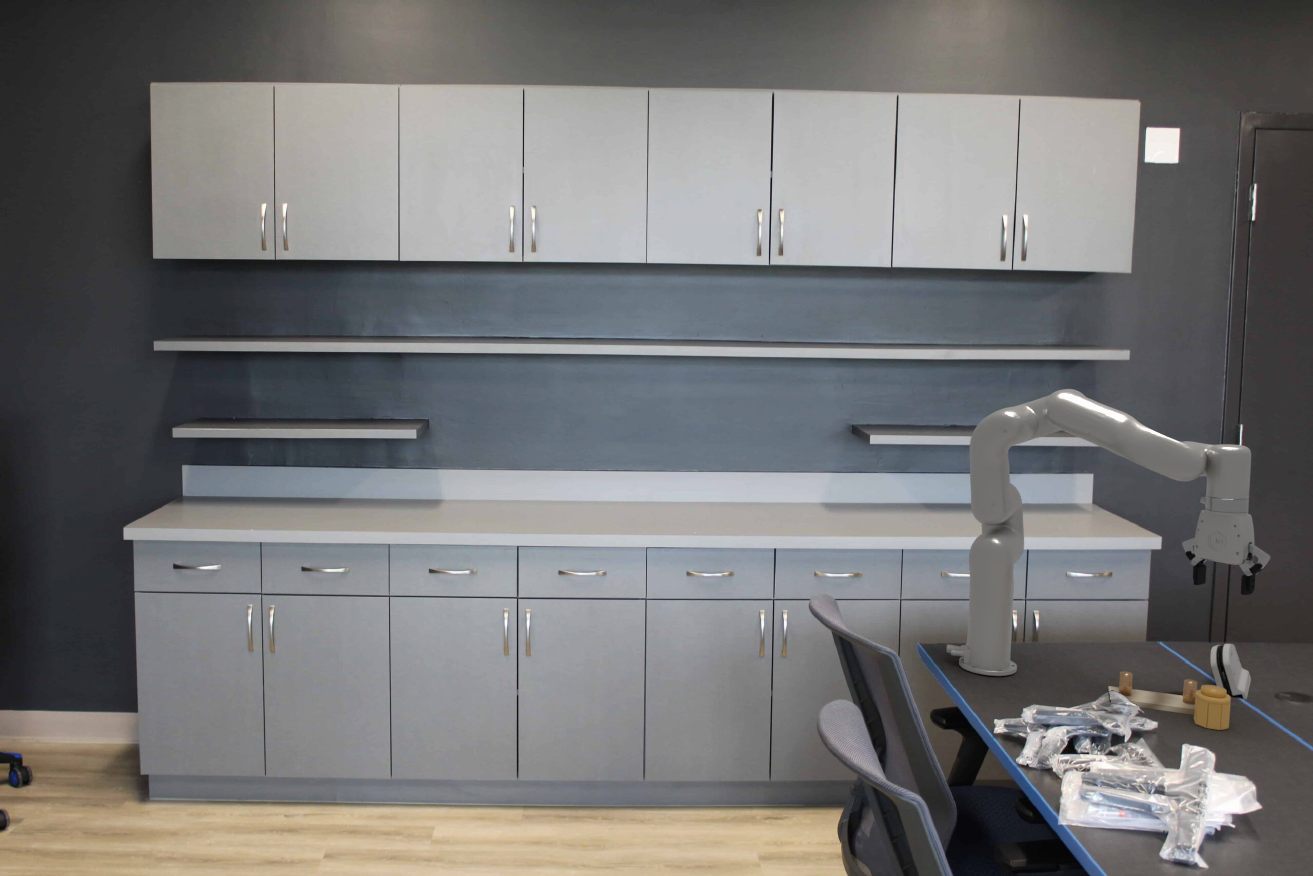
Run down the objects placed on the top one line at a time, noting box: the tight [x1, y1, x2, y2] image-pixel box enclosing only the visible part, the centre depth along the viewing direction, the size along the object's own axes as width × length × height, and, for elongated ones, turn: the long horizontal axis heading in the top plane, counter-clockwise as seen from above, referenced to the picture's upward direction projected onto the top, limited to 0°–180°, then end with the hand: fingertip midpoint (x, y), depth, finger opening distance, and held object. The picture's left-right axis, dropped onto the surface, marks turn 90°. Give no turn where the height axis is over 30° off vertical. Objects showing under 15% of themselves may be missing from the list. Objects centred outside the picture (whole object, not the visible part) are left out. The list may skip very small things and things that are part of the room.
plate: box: [1107, 685, 1195, 716], centre depth 207 cm, size 18×8×1 cm, turn 69°
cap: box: [1193, 684, 1232, 731], centre depth 196 cm, size 6×6×7 cm
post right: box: [1182, 678, 1198, 705], centre depth 205 cm, size 2×2×4 cm
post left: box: [1118, 670, 1134, 696], centre depth 209 cm, size 2×2×4 cm
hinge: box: [1210, 643, 1252, 700], centre depth 218 cm, size 17×5×10 cm, turn 146°
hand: (1222, 589), depth 202 cm, fingers open, 9 cm apart
